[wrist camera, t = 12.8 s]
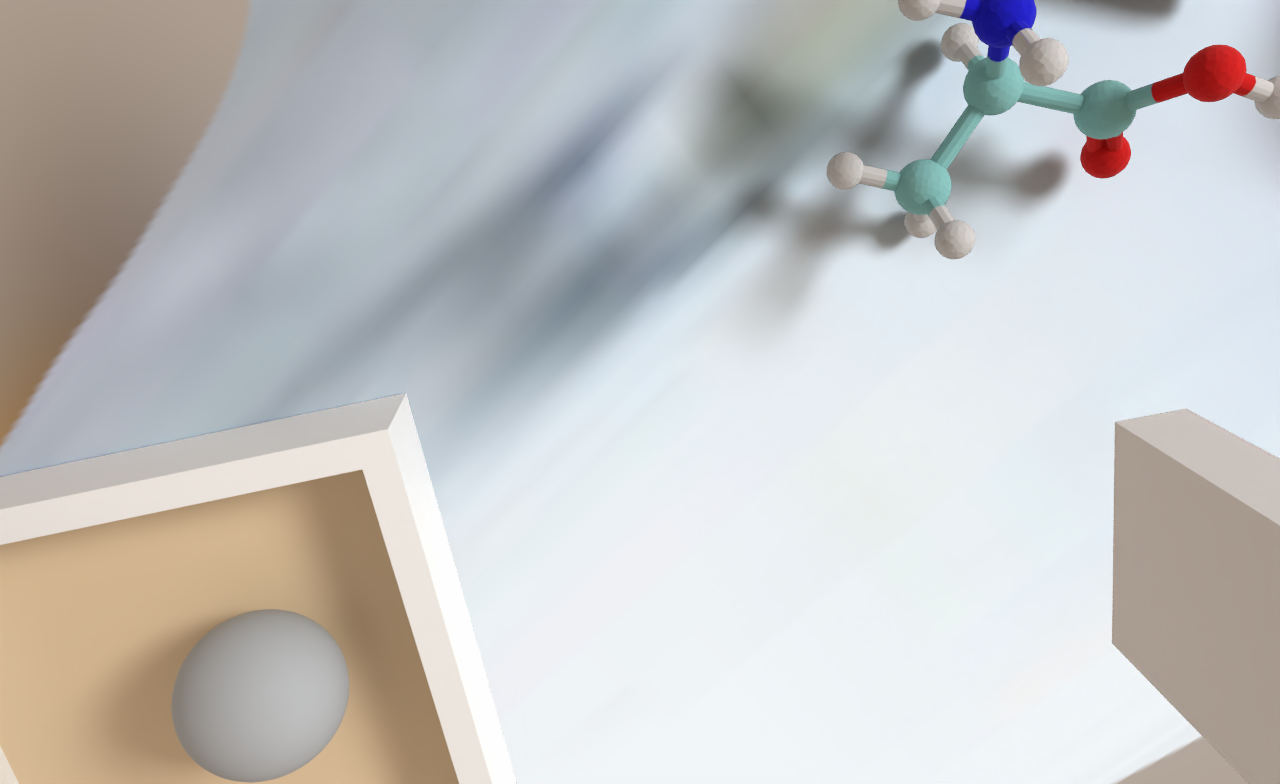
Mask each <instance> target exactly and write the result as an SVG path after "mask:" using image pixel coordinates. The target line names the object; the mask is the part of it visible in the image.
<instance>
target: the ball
mask: <svg viewBox="0 0 1280 784" xmlns="http://www.w3.org/2000/svg"><path fill="white" fill-rule="evenodd" d="M348 698H349V674H348V669H347V665H346V661H345V658H344V656H343V653H342V651H341V649H340V647H339V646H338V644H337V643H336V641H335V640H334V638H333V637H332V636H331V635H330V634H329V632H328V631H326V630H325V629H324V628H323V627H322V626H321V625H319V624H318V623H316V622H315V621H313V620H311V619H309V618H307V617H305V616H303V615H301V614H298V613H295V612H291V611H286V610H277V609H265V610H256V611H251V612H246V613H243V614H240V615H237V616H235V617H232V618H230V619H228V620H226V621H224V622H222V623H221V624H219V625H218V626H216V627H215V628H213V629H212V630H211V631H209V632H208V633H207V634H206V635H205V636H203V637H202V638H201V639H200V640H199V641H198V642H197V644H196V645H195V646H194V647H193V648H192V650H191V651H190V652H189V654H188V655H187V657H186V658H185V660H184V661H183V663H182V665H181V667H180V669H179V672H178V675H177V678H176V681H175V684H174V688H173V693H172V703H171V709H172V719H173V724H174V728H175V731H176V734H177V737H178V739H179V741H180V743H181V745H182V747H183V748H184V749H185V751H186V752H187V754H188V755H189V756H190V757H191V758H192V759H193V760H194V761H195V762H196V763H197V764H198V765H200V766H201V767H202V768H203V769H205V770H207V771H209V772H210V773H212V774H214V775H216V776H219V777H221V778H224V779H228V780H232V781H238V782H249V783H251V782H262V781H268V780H272V779H277V778H280V777H282V776H285V775H288V774H290V773H292V772H294V771H296V770H298V769H299V768H301V767H303V766H304V765H306V764H307V763H308V762H310V761H311V760H312V759H314V758H315V757H316V756H317V755H318V754H319V753H320V752H321V751H322V750H323V749H324V748H325V747H326V746H327V744H328V743H329V742H330V740H331V739H332V738H333V736H334V735H335V733H336V731H337V730H338V728H339V726H340V724H341V722H342V719H343V716H344V714H345V711H346V707H347V703H348Z"/></svg>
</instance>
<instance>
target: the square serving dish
mask: <svg viewBox="0 0 1280 784" xmlns="http://www.w3.org/2000/svg"><path fill="white" fill-rule="evenodd" d="M265 609H277V610H286V611H291V612H295V613H298V614H301V615H303V616H305V617H307V618H309V619H311V620H313V621H315V622H316V623H318V624H319V625H321V626H322V627H323V628H324V629H325V630H326V631H328V632H329V634H330V635H331V636H332V637H333V638H334V640H335V641H336V643H337V644H338V646H339V647H340V649H341V651H342V653H343V656H344V658H345V661H346V665H347V669H348V674H349V698H348V703H347V707H346V711H345V714H344V716H343V719H342V722H341V724H340V726H339V728H338V730H337V731H336V733H335V735H334V736H333V738H332V739H331V740H330V742H329V743H328V744H327V746H326V747H325V748H324V749H323V750H322V751H321V752H320V753H319V754H318V755H317V756H316V757H315V758H314V759H312V760H311V761H310V762H308V763H307V764H306V765H304V766H303V767H301V768H299V769H298V770H296V771H294V772H292V773H290V774H288V775H285V776H282V777H280V778H277V779H272V780H268V781H262V782H251V783H249V782H238V781H232V780H228V779H224V778H221V777H219V776H216V775H214V774H212V773H210V772H209V771H207V770H205V769H203V768H202V767H201V766H200V765H198V764H197V763H196V762H195V761H194V760H193V759H192V758H191V757H190V756H189V755H188V754H187V752H186V751H185V749H184V748H183V747H182V745H181V743H180V741H179V739H178V737H177V734H176V731H175V728H174V724H173V719H172V709H171V703H172V693H173V688H174V684H175V681H176V678H177V675H178V672H179V669H180V667H181V665H182V663H183V661H184V660H185V658H186V657H187V655H188V654H189V652H190V651H191V650H192V648H193V647H194V646H195V645H196V644H197V642H198V641H199V640H200V639H201V638H202V637H203V636H205V635H206V634H207V633H208V632H209V631H211V630H212V629H213V628H215V627H216V626H218V625H219V624H221V623H222V622H224V621H226V620H228V619H230V618H232V617H235V616H237V615H240V614H243V613H246V612H251V611H256V610H265ZM0 784H517V782H516V779H515V775H514V772H513V768H512V765H511V761H510V758H509V754H508V750H507V747H506V743H505V740H504V736H503V733H502V729H501V726H500V722H499V719H498V715H497V712H496V708H495V705H494V701H493V698H492V694H491V690H490V687H489V683H488V680H487V676H486V673H485V669H484V666H483V662H482V659H481V655H480V652H479V648H478V645H477V641H476V638H475V634H474V630H473V627H472V623H471V620H470V616H469V613H468V609H467V606H466V602H465V599H464V595H463V592H462V588H461V585H460V581H459V578H458V574H457V570H456V567H455V563H454V560H453V556H452V553H451V549H450V546H449V542H448V539H447V535H446V532H445V528H444V525H443V521H442V518H441V514H440V510H439V507H438V503H437V500H436V496H435V493H434V489H433V486H432V482H431V479H430V475H429V472H428V468H427V465H426V461H425V458H424V454H423V450H422V447H421V443H420V440H419V436H418V433H417V429H416V426H415V422H414V419H413V415H412V412H411V408H410V405H409V401H408V398H407V394H406V393H404V394H399V395H394V396H389V397H384V398H380V399H375V400H370V401H365V402H360V403H355V404H351V405H346V406H341V407H336V408H331V409H326V410H322V411H317V412H312V413H307V414H302V415H297V416H293V417H288V418H283V419H278V420H273V421H268V422H264V423H259V424H254V425H249V426H244V427H239V428H234V429H230V430H225V431H220V432H215V433H210V434H205V435H201V436H196V437H191V438H186V439H181V440H176V441H172V442H167V443H162V444H157V445H152V446H147V447H143V448H138V449H133V450H128V451H123V452H118V453H114V454H109V455H104V456H99V457H94V458H89V459H85V460H80V461H75V462H70V463H65V464H60V465H55V466H51V467H46V468H41V469H36V470H31V471H26V472H22V473H17V474H12V475H7V476H2V477H0Z"/></svg>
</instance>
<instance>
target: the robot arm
mask: <svg viewBox="0 0 1280 784" xmlns="http://www.w3.org/2000/svg"><path fill="white" fill-rule="evenodd" d="M1112 643H1113V645H1114V646H1115V647H1116V648H1117V649H1118V650H1119V651H1120V652H1121V653H1122V654H1123V655H1124V656H1125V657H1126V658H1127V659H1128V660H1129V661H1130V662H1131V663H1132V664H1133V665H1134V666H1135V667H1136V668H1137V669H1138V670H1139V671H1140V672H1141V673H1142V674H1143V675H1144V676H1145V677H1146V679H1147V680H1148V681H1149V682H1150V683H1151V684H1152V685H1153V686H1154V687H1155V688H1156V689H1157V690H1158V691H1159V692H1160V693H1161V694H1162V695H1163V696H1164V697H1165V698H1166V699H1167V700H1168V701H1169V702H1170V703H1171V704H1172V705H1173V706H1174V707H1175V708H1176V709H1177V710H1178V712H1179V713H1180V714H1181V715H1182V716H1183V717H1184V718H1185V719H1186V720H1187V721H1188V722H1189V723H1190V724H1191V725H1192V726H1193V727H1194V728H1195V729H1196V730H1197V731H1198V732H1199V733H1200V734H1201V735H1202V736H1203V737H1204V738H1205V739H1206V740H1207V741H1208V742H1209V743H1210V744H1211V746H1212V747H1213V748H1214V749H1215V750H1216V751H1217V752H1218V753H1219V754H1220V755H1221V756H1222V757H1223V758H1224V759H1225V760H1226V761H1227V762H1228V763H1229V764H1230V765H1231V766H1232V767H1233V768H1234V769H1235V770H1236V771H1237V772H1238V773H1239V774H1240V775H1241V776H1242V777H1243V778H1244V779H1245V781H1246V782H1248V784H1280V459H1279V458H1278V457H1276V456H1274V455H1272V454H1270V453H1268V452H1266V451H1264V450H1263V449H1261V448H1259V447H1257V446H1255V445H1253V444H1251V443H1250V442H1248V441H1246V440H1244V439H1242V438H1240V437H1238V436H1236V435H1235V434H1233V433H1231V432H1229V431H1227V430H1225V429H1223V428H1221V427H1220V426H1218V425H1216V424H1214V423H1212V422H1210V421H1208V420H1207V419H1205V418H1203V417H1201V416H1199V415H1197V414H1195V413H1193V412H1192V411H1190V410H1188V409H1182V410H1176V411H1171V412H1166V413H1160V414H1155V415H1150V416H1144V417H1139V418H1134V419H1128V420H1123V421H1118V422H1115V459H1114V538H1113V616H1112Z"/></svg>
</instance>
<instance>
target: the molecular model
mask: <svg viewBox="0 0 1280 784" xmlns="http://www.w3.org/2000/svg"><path fill="white" fill-rule="evenodd" d="M898 4H899V9H900V11H901V12H902V14H903V15H904V16H906V17H907V18H909V19H911V20H916V21H919V20H924V19H927V18H929V17H930V16H932V15H933V14H934V13H938V14H943V15H947V16H952V17H957V18H961V19H966V20H970V21H972V24H973V27H974V28H973V27H972V26H970V25H968V24H965V23H959V24H956V25H953V26H952V27H950V28H949V29H948V30H947V31H946V32H945V33H944V35H943V37H942V41H941V49H942V52H943V54H944V55H945V56H946V57H947V58H948V59H950V60H952V61H957V62H958V61H962V63H963V64H964V65H965V67H966V68H967V69H968V70H969V72H968V74H967V75H966V78H965V81H964V86H963V92H964V97H965V100H966V102H967V103H968V106H967V108H966V109H965V111H964V112H963V113H962V115H961V116H960V118H959V119H958V121H957V122H956V124H955V125H954V127H953V128H952V129H951V131H950V132H949V134H948V135H947V137H946V138H945V140H944V141H943V142H942V144H941V145H940V147H939V148H938V150H937V151H936V153H935V154H934V156H933V157H932V158H931V160H927V159H923V160H917V161H914V162H912V163H910V164H908V165H907V166H905V167H904V168H903V169H902V170H901V172H900V173H899V172H894V171H889V170H885V169H880V168H876V167H871V166H866V165H863V162H862V161H861V159H860V158H859V157H858V156H857V155H855V154H853V153H851V152H842V153H839V154H837V155H835V156H834V157H833V158H832V159H831V160H830V162H829V164H828V166H827V177H828V180H829V181H830V182H831V183H832V185H833V186H834V187H836V188H839V189H843V190H844V189H850V188H852V187H854V186H856V185H857V184H858V183H860V184H865V185H869V186H873V187H878V188H883V189H887V190H892V191H895V196H896V199H897V201H898V203H899V204H900V205H901V206H902V208H903V209H905V210H906V211H907V214H906V216H905V220H904V224H905V228H906V230H907V231H908V232H909V233H910V234H911V235H912V236H914V237H918V238H925V237H928V236H930V235H932V234H933V233H934V232H935V231H936V229H937V233H936V235H935V246H936V249H937V250H938V252H939V253H940V254H941V255H942V256H944V257H946V258H949V259H959V258H962V257H964V256H966V255H967V254H968V253H970V252H971V250H972V248H973V246H974V244H975V234H974V231H973V229H972V228H971V227H970V226H969V225H968V224H967V223H965V222H963V221H958V220H954V219H953V217H952V215H951V214H950V212H949V211H948V209H947V207H946V206H945V203H946V202H947V200H948V198H949V196H950V192H951V187H952V185H951V179H950V175H949V173H948V171H947V168H948V167H949V165H950V164H951V162H952V161H953V160H954V158H955V157H956V155H957V154H958V152H959V151H960V150H961V148H962V147H963V145H964V144H965V142H966V141H967V139H968V138H969V136H970V135H971V133H972V132H973V131H974V129H975V128H976V126H977V125H978V123H979V122H980V120H981V119H982V118H983V116H984V115H997V114H1001V113H1003V112H1005V111H1007V110H1009V109H1010V108H1011V107H1012V106H1014V105H1015V103H1016V102H1022V103H1026V104H1031V105H1036V106H1040V107H1045V108H1049V109H1054V110H1059V111H1063V112H1068V113H1073V114H1074V120H1075V123H1076V126H1077V127H1078V128H1079V130H1080V131H1081V132H1082V133H1084V134H1085V135H1087V142H1086V143H1085V145H1084V146H1083V148H1082V152H1081V157H1080V160H1081V163H1082V167H1083V168H1084V169H1085V171H1086V172H1087V173H1089V174H1090V175H1091V176H1094V177H1096V178H1109V177H1112V176H1115V175H1116V174H1118V173H1119V172H1121V171H1122V170H1123V169H1124V168H1125V167H1126V166H1127V164H1128V162H1129V160H1130V156H1131V150H1130V146H1129V143H1128V141H1127V140H1126V139H1125V138H1124V137H1123V131H1124V130H1126V129H1127V128H1128V127H1129V125H1130V124H1131V123H1132V121H1133V119H1134V117H1135V114H1136V110H1137V109H1140V108H1143V107H1146V106H1149V105H1152V104H1155V103H1159V102H1162V101H1165V100H1168V99H1172V98H1175V97H1178V96H1181V95H1184V94H1187V93H1189V95H1191V96H1192V97H1193V98H1195V99H1197V100H1200V101H1203V102H1215V101H1219V100H1222V99H1224V98H1226V97H1228V96H1229V95H1231V94H1232V93H1235V94H1237V95H1240V96H1243V97H1246V98H1248V99H1251V100H1254V101H1255V106H1256V109H1257V110H1258V111H1259V113H1260V114H1262V115H1263V116H1265V117H1267V118H1271V119H1280V76H1278V77H1274V78H1272V79H1270V80H1268V81H1267V80H1264V79H1261V78H1258V77H1256V76H1253V75H1250V74H1247V73H1246V63H1245V59H1244V57H1243V56H1242V55H1241V54H1240V52H1239V51H1237V50H1236V49H1235V48H1232V47H1230V46H1227V45H1212V46H1209V47H1206V48H1204V49H1202V50H1200V51H1199V52H1197V53H1196V54H1195V55H1194V56H1192V57H1191V58H1190V60H1189V61H1188V63H1187V64H1186V66H1185V68H1184V72H1183V73H1182V74H1179V75H1176V76H1173V77H1170V78H1167V79H1164V80H1161V81H1158V82H1155V83H1153V84H1150V85H1147V86H1144V87H1141V88H1138V89H1136V90H1133V91H1131V89H1130V88H1129V87H1127V86H1126V85H1124V84H1123V83H1120V82H1118V81H1113V80H1106V81H1101V82H1097V83H1095V84H1093V85H1091V86H1089V87H1088V88H1087V89H1086V90H1084V91H1083V92H1082V93H1081V95H1080V94H1076V93H1071V92H1067V91H1062V90H1057V89H1053V88H1049V87H1044V86H1047V85H1050V84H1052V83H1054V82H1056V81H1057V80H1058V79H1059V78H1060V77H1062V76H1063V74H1064V72H1065V70H1066V69H1067V65H1068V53H1067V50H1066V48H1065V47H1064V46H1063V44H1062V43H1060V42H1059V41H1057V40H1055V39H1050V38H1044V39H1040V38H1039V37H1038V36H1037V35H1036V34H1035V32H1034V31H1033V30H1032V29H1031V28H1032V26H1033V24H1034V21H1035V17H1036V6H1035V3H1034V0H898ZM979 39H980V40H981V41H982V42H984V43H985V44H987V45H989V48H988V55H987V58H984V56H983V55H982V54H981V52H980V51H979V50H978V49H977V47H978V43H979ZM1011 45H1013V46H1014V48H1015V49H1016V50H1017V51H1018V52H1019V54H1020V55H1021V57H1020V66H1018V65H1017V64H1016V63H1015V62H1014V61H1012V60H1011V59H1009V58H1008V55H1009V49H1010V46H1011ZM1024 79H1025V81H1027V82H1028V83H1026V82H1024Z"/></svg>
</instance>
